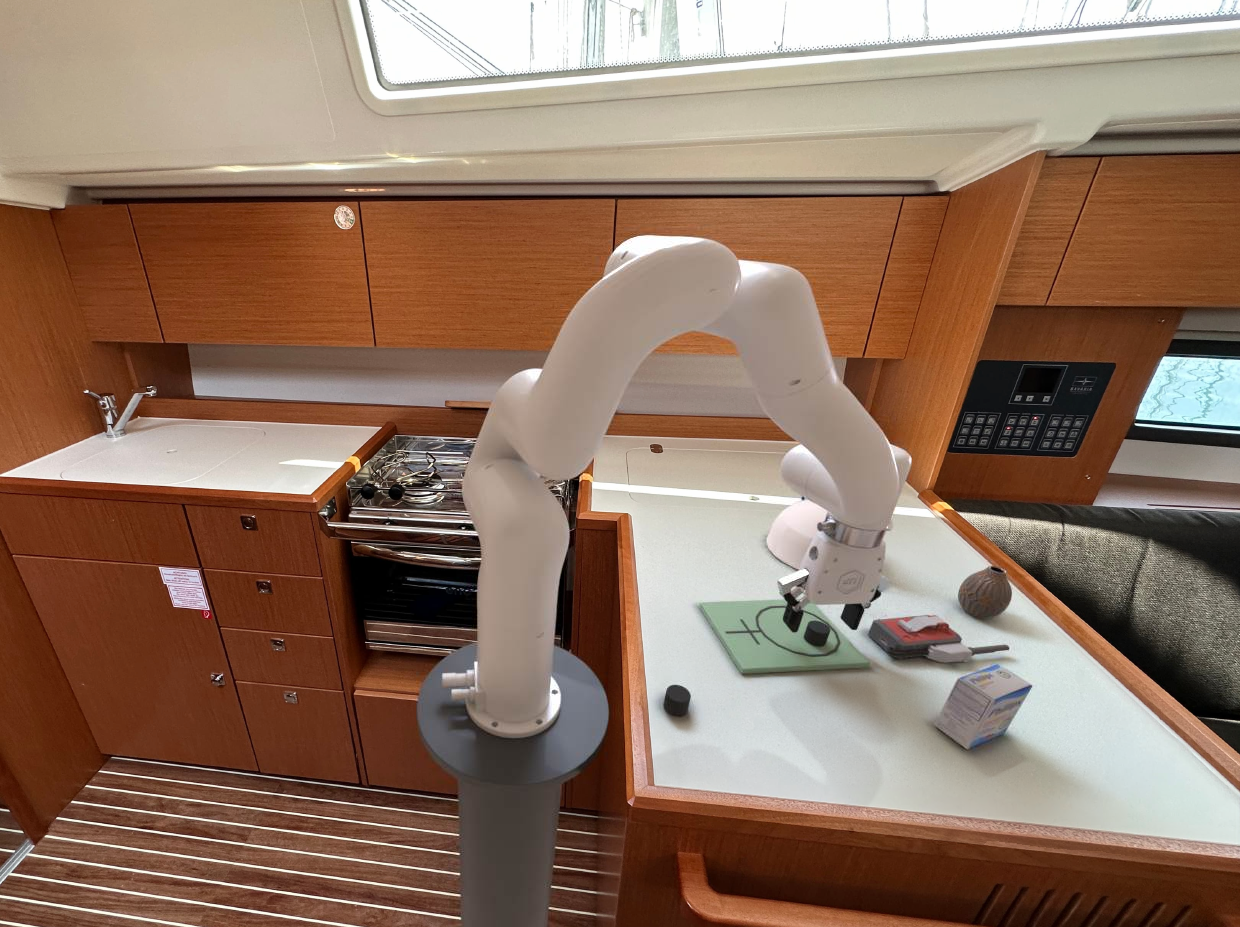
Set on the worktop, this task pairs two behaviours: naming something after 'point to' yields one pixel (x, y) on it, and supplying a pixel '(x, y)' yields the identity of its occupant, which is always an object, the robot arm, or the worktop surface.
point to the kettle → (797, 531)
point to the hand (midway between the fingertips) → (819, 625)
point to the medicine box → (982, 705)
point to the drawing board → (777, 638)
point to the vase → (985, 593)
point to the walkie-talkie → (924, 639)
